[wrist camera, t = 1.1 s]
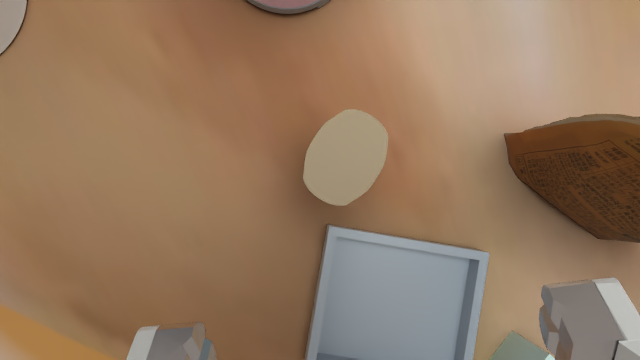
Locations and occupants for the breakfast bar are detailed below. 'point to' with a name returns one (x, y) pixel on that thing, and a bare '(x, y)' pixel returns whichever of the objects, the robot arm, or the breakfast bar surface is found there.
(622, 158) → the pancake mix bag
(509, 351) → the right angle wall
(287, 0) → the blender
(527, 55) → the breakfast bar surface
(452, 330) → the tray
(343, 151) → the handle
